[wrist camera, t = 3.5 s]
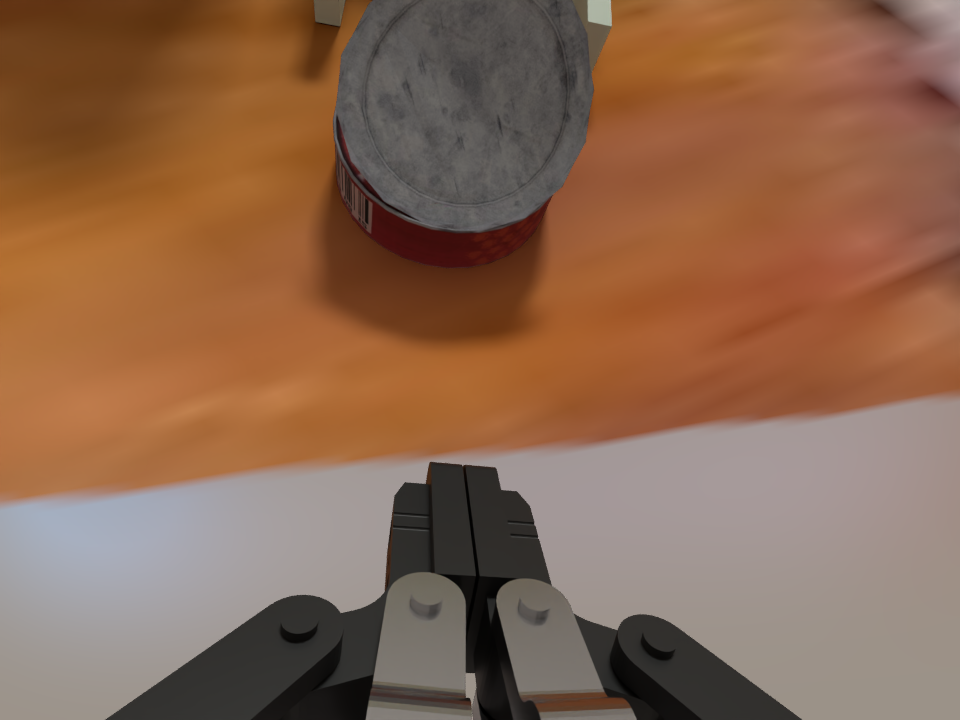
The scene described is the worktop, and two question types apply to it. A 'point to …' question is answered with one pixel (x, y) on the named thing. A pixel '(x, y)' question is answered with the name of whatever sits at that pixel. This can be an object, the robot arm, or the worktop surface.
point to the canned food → (459, 123)
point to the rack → (589, 3)
